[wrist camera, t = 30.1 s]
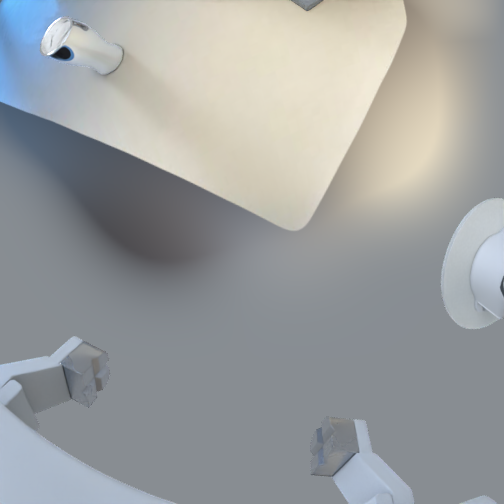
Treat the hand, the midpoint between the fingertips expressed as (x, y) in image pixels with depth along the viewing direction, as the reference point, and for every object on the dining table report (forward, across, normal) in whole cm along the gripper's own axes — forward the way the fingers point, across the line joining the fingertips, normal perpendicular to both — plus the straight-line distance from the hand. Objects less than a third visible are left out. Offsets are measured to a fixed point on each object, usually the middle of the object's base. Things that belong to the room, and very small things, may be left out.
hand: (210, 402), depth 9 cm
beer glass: (+34, +34, -22) cm, 53 cm away
